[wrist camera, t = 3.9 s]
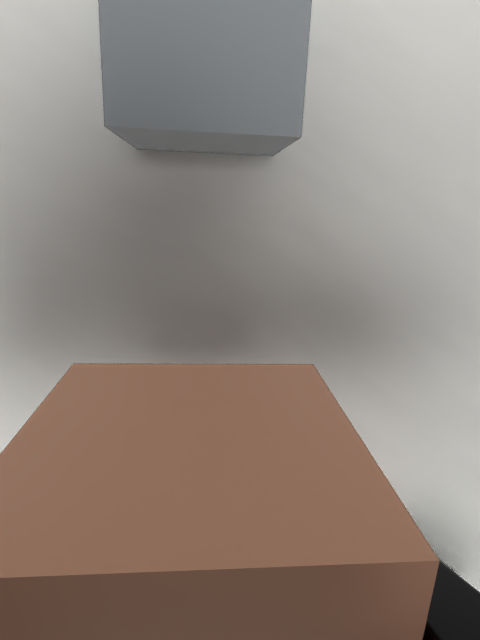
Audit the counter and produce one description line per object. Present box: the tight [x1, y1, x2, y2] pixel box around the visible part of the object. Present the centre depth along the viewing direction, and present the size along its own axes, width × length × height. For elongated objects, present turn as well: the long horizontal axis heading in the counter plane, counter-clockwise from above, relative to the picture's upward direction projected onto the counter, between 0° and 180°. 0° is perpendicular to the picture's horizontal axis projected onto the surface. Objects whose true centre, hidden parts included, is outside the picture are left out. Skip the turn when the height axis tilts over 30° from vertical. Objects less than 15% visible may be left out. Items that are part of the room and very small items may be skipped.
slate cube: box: [98, 0, 312, 156], centre depth 12 cm, size 5×5×5 cm
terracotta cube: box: [0, 364, 439, 640], centre depth 7 cm, size 5×5×5 cm
